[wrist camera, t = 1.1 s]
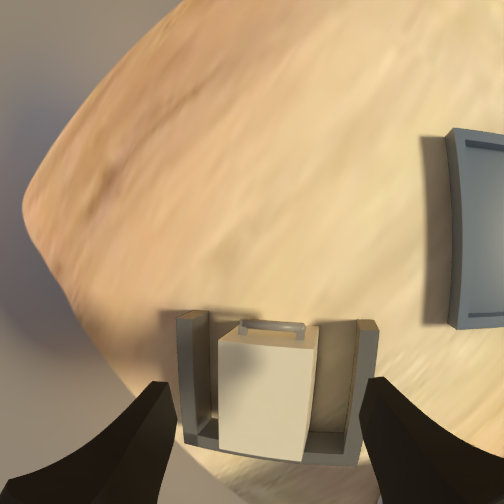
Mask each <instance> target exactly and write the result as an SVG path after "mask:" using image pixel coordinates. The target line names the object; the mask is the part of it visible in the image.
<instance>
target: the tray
mask: <svg viewBox="0 0 504 504" xmlns="http://www.w3.org/2000/svg"><path fill="white" fill-rule="evenodd" d="M445 140H446V147H447V155H448V164H449V174H450V186H451V202H452V277H451V293H450V305H449V315H448V324H449V325H451V326H452V327H453V328H455V329H456V330H464V329H482V328H497V327H504V135H501V134H495V133H489V132H483V131H476V130H469V129H461V128H453V129H452V130H451V131H450V132H449V133H448V134H447V135H446V136H445Z"/></svg>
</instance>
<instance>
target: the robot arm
mask: <svg viewBox="0 0 504 504" xmlns="http://www.w3.org/2000/svg"><path fill="white" fill-rule="evenodd" d="M358 416H359V421H360V427H361V431H362V436H363V440H364V443H365V446H366V449H367V452H368V455H369V458H370V461H371V463H372V466H373V469H374V472H375V475H376V478H377V481H378V484H379V488H380V492H381V494H380V497H379V500H378V502H377V504H504V458H501V457H499V456H496V455H493V454H490V453H488V452H485V451H483V450H481V449H479V448H477V447H475V446H474V445H470V444H468V443H467V442H465V441H463V440H461V439H459V438H458V437H456V436H455V435H453V434H451V433H450V432H448V431H447V430H445V429H444V428H442V427H441V426H440V425H438V424H437V423H436V422H434V421H433V420H432V419H430V418H429V417H428V416H427V415H425V414H424V413H423V412H422V411H421V410H419V409H418V408H417V407H416V406H415V405H414V404H413V403H412V402H410V401H409V400H408V399H407V398H406V397H405V396H404V395H403V394H402V393H401V392H400V391H399V390H397V389H396V388H395V387H394V386H393V385H392V384H391V383H390V382H389V381H388V380H387V379H386V378H385V377H376V378H368V382H367V386H366V390H365V394H364V398H363V401H362V405H361V408H360V412H359V415H358ZM176 425H177V416H176V412H175V408H174V404H173V400H172V396H171V392H170V387H169V383H168V382H157V381H152V382H151V383H150V384H149V385H148V386H147V387H146V388H145V389H144V391H143V392H142V393H141V394H140V395H139V396H138V397H137V398H136V399H135V400H134V401H133V402H132V403H131V404H130V406H129V407H128V408H127V409H126V410H125V411H124V412H123V413H122V414H121V415H120V416H119V417H118V418H117V419H115V420H114V421H113V422H112V423H111V424H110V425H109V426H108V427H107V428H105V429H104V430H103V431H102V432H101V433H100V434H98V435H97V436H96V437H95V438H93V439H92V440H91V441H90V442H88V443H87V444H85V445H84V446H83V447H81V448H80V449H78V450H76V451H75V452H73V453H72V454H70V455H68V456H67V457H65V458H63V459H61V460H59V461H57V462H55V463H53V464H51V465H49V466H47V467H45V468H42V469H40V470H37V471H35V472H33V473H30V474H26V475H23V476H20V477H16V478H13V479H9V480H8V482H7V483H6V485H5V487H4V489H3V490H2V492H1V494H0V504H157V500H158V495H159V491H160V487H161V483H162V480H163V477H164V473H165V470H166V467H167V464H168V460H169V457H170V453H171V450H172V447H173V443H174V438H175V432H176Z"/></svg>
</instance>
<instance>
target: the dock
mask: <svg viewBox="0 0 504 504" xmlns="http://www.w3.org/2000/svg"><path fill="white" fill-rule="evenodd" d="M176 328H177V353H178V372H179V387H180V401H181V413H182V424H183V434H184V443H185V444H189V445H193V446H197V447H201V448H205V449H210V450H214V451H219V452H224V453H229V454H234V455H240V456H245V457H251V458H258V459H264V460H272V461H279V462H288V463H298V464H309V465H325V466H355V467H357V464H358V460H359V456H360V451H361V447H362V442H363V436H362V431H361V427H360V421H359V416H358V415H359V412H360V408H361V405H362V401H363V398H364V394H365V390H366V386H367V382H368V378H374V373H375V366H376V358H377V349H378V340H379V329H378V327H377V325H376V323H375V321H374V320H357V332H356V344H355V354H354V364H353V373H352V381H351V389H350V397H349V404H348V411H347V417H346V423H345V430H344V433H328V432H312V431H308V434H307V439H306V443H305V448H304V452H303V456H302V461H301V462H300V461H291V460H283V459H275V458H268V457H261V456H255V455H249V454H244V453H238V452H233V451H228V450H223V449H219V419H214V418H211V392H210V358H209V311H200V310H193V311H191V312H189V313H186V314H184V315H181V316H179V317H176Z"/></svg>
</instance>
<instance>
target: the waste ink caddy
mask: <svg viewBox="0 0 504 504" xmlns="http://www.w3.org/2000/svg"><path fill="white" fill-rule="evenodd" d="M318 338H319V326H306V325H305V324H304V323H295V322H280V321H267V320H255V319H240V320H239V324H238V326H237V327H235V328H234V329H233V330H231V331H230V332H229V333H227V334H226V335H225V336H223V337H222V338H220V339H219V340H218V414H219V449H223V450H228V451H233V452H238V453H244V454H249V455H255V456H261V457H268V458H275V459H283V460H291V461H300V462H301V461H302V456H303V452H304V448H305V443H306V439H307V434H308V430H309V425H310V419H311V411H312V402H313V393H314V383H315V373H316V362H317V351H318Z"/></svg>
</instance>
